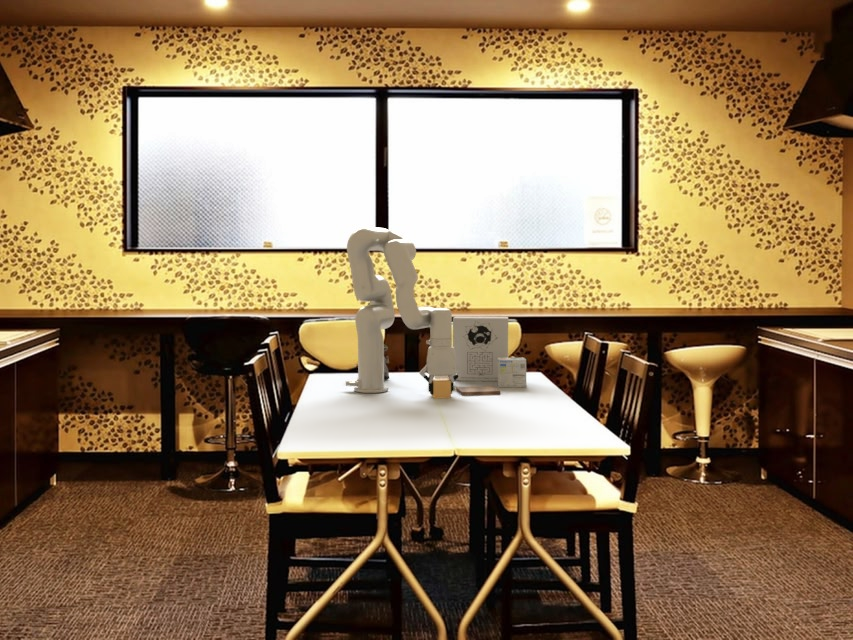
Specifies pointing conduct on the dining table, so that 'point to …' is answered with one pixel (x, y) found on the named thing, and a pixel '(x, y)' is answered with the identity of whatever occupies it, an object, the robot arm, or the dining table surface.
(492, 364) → the cereal box
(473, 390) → the walnut board
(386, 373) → the figurine
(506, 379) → the light bulb box
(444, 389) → the ochre cube
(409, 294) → the robot arm
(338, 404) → the dining table surface
